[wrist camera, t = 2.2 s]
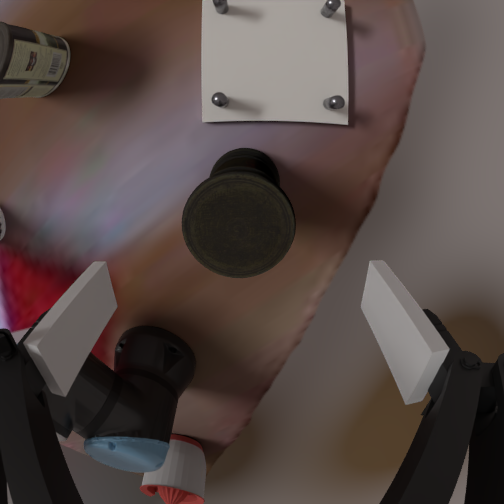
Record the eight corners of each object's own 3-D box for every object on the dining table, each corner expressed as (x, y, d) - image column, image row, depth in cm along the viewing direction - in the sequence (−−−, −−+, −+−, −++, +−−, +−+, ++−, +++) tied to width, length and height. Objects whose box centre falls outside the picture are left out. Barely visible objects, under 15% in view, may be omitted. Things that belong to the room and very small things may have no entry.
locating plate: (345, 124, 34) (358, 125, 30) (203, 122, 35) (196, 122, 30) (341, 3, 27) (353, -11, 22) (204, -2, 27) (197, -17, 22)
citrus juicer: (141, 442, 66) (127, 500, 48) (166, 422, 60) (151, 492, 42) (189, 461, 70) (182, 517, 52) (221, 444, 64) (216, 510, 46)
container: (228, 225, 40) (212, 299, 24) (198, 166, 37) (155, 202, 21) (289, 199, 39) (317, 258, 22) (262, 136, 35) (271, 147, 19)
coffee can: (22, 53, 28) (-37, 48, 15) (69, 26, 27) (11, 6, 14) (25, 108, 32) (-38, 115, 19) (73, 83, 31) (9, 78, 18)
